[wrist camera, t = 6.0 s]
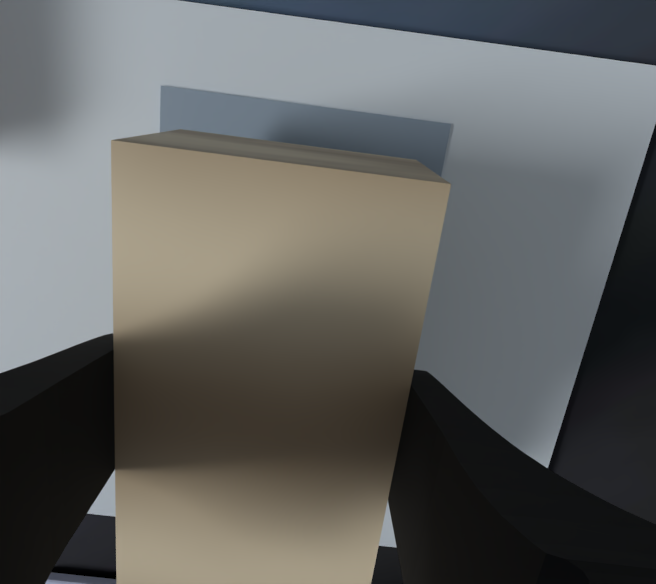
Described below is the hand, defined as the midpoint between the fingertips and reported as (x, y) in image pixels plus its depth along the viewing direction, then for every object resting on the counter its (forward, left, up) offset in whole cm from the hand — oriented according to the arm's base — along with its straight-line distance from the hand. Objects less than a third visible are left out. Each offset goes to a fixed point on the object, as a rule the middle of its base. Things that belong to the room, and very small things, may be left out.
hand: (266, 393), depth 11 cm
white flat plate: (0, 0, -5) cm, 5 cm away
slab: (0, 0, -3) cm, 3 cm away
